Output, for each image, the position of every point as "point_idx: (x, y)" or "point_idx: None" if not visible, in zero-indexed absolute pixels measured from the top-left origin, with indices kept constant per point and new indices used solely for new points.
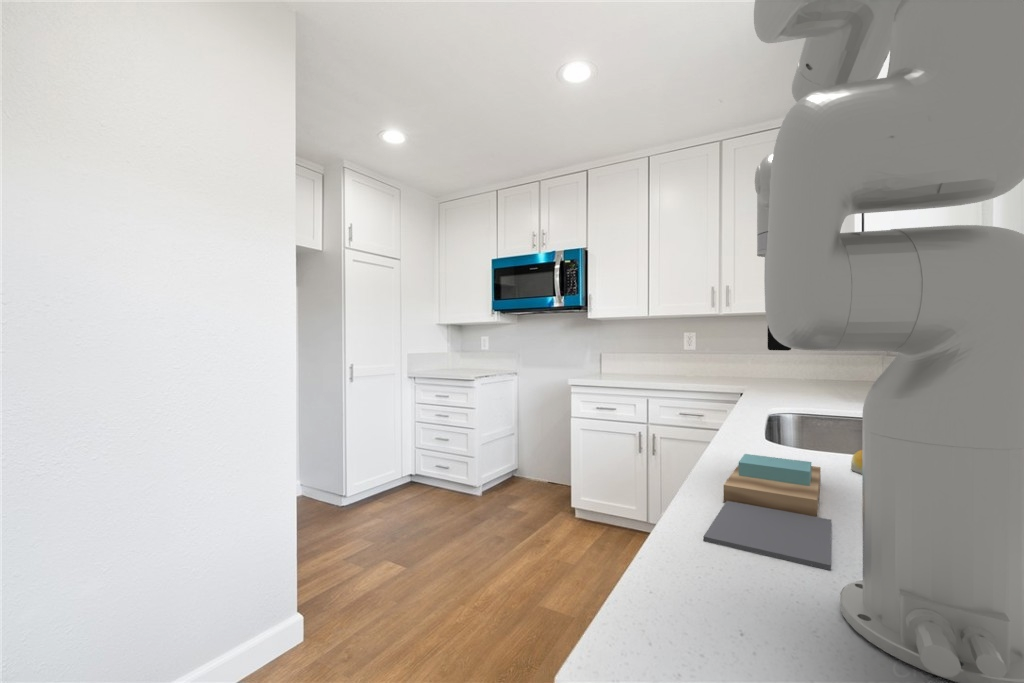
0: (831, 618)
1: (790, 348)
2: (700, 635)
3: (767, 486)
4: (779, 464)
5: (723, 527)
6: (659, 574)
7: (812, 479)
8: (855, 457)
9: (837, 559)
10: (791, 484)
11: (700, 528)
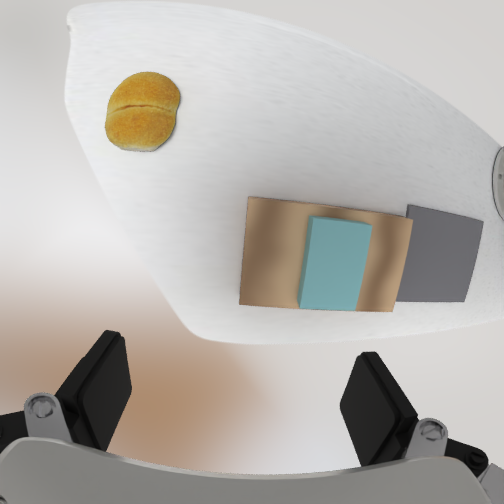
0: None
1: (376, 353)
2: None
3: (384, 269)
4: (348, 261)
5: (449, 292)
6: (494, 310)
7: (331, 215)
8: (145, 144)
9: (468, 213)
10: None
11: (444, 307)
